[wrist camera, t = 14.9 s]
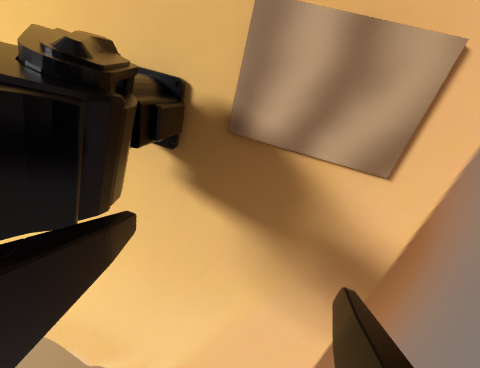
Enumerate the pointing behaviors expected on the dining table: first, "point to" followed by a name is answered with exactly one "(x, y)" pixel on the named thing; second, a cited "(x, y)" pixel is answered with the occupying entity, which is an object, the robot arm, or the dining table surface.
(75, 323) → the dining table surface
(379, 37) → the oak pad
